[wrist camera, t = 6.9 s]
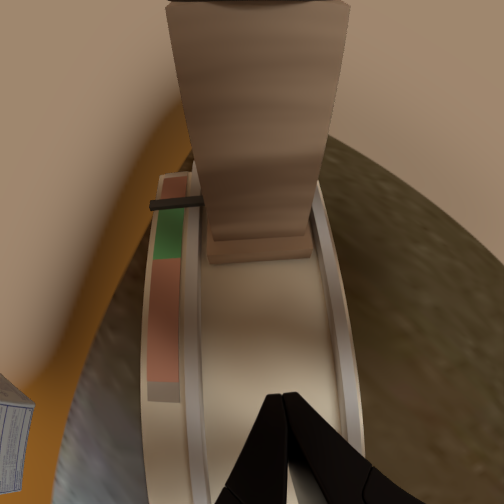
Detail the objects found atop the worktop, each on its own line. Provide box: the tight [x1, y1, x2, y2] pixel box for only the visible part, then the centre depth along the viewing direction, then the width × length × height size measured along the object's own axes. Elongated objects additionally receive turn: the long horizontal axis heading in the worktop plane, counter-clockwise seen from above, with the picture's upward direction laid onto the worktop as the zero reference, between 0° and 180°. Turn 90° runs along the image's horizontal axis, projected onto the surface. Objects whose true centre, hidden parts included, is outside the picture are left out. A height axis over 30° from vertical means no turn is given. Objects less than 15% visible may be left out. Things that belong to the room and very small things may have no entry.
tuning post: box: [149, 0, 350, 265], centre depth 10 cm, size 6×8×14 cm
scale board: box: [141, 161, 365, 504], centre depth 13 cm, size 22×10×2 cm, turn 4°
